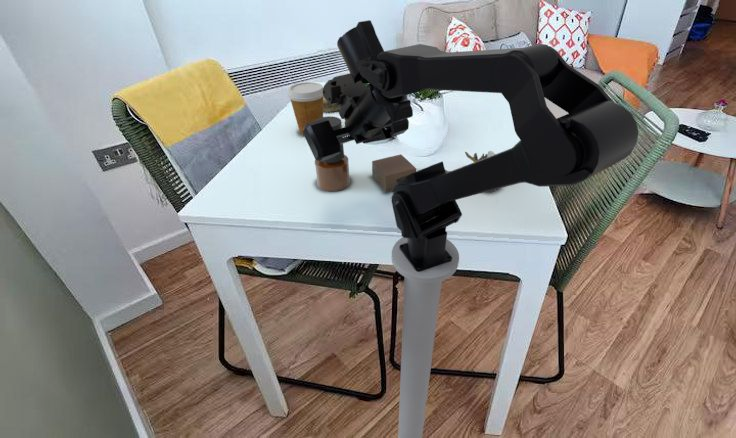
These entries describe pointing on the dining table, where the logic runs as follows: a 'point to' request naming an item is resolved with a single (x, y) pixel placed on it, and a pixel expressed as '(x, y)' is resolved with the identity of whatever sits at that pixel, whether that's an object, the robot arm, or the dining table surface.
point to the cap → (336, 125)
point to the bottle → (333, 174)
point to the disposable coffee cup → (306, 102)
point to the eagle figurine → (480, 159)
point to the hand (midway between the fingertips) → (343, 147)
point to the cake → (329, 106)
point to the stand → (391, 171)
